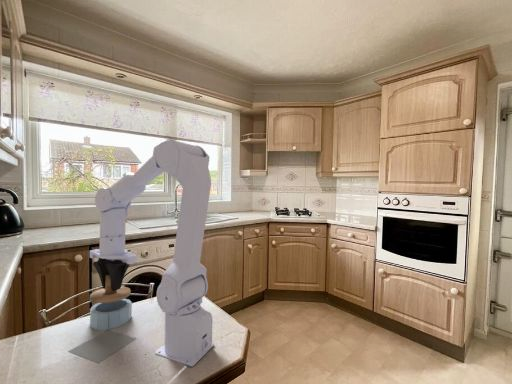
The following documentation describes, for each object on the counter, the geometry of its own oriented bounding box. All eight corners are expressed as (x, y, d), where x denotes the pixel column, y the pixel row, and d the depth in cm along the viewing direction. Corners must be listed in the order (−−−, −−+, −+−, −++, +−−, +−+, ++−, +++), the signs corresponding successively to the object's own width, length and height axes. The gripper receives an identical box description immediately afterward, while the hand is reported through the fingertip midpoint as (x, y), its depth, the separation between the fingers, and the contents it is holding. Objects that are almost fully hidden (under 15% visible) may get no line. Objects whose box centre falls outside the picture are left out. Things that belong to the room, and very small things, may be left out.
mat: (136, 340, 57) (136, 338, 57) (98, 365, 49) (98, 363, 49) (108, 331, 61) (108, 329, 61) (68, 353, 52) (68, 351, 52)
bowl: (138, 317, 68) (138, 301, 68) (107, 334, 59) (107, 316, 59) (114, 310, 71) (114, 296, 71) (81, 326, 63) (82, 309, 63)
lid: (138, 292, 68) (138, 272, 68) (109, 305, 59) (109, 282, 59) (112, 287, 71) (112, 268, 71) (80, 299, 62) (81, 278, 62)
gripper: (146, 235, 66) (145, 287, 66) (107, 231, 72) (106, 279, 72) (122, 239, 60) (121, 297, 60) (81, 235, 65) (80, 288, 65)
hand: (111, 288), depth 65 cm, fingers closed on lid, 3 cm apart
